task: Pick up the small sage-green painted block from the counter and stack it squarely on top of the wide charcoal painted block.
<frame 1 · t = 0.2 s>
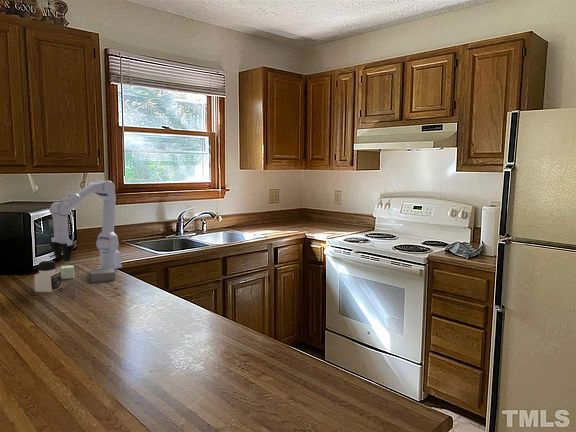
hand: (62, 259, 196), 10 cm above the worktop, tool pointing down, fingers open, 7 cm apart
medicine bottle: (48, 290, 183), on the worktop
charcoal plinth: (103, 279, 202), on the worktop
sage block: (67, 277, 203), on the worktop
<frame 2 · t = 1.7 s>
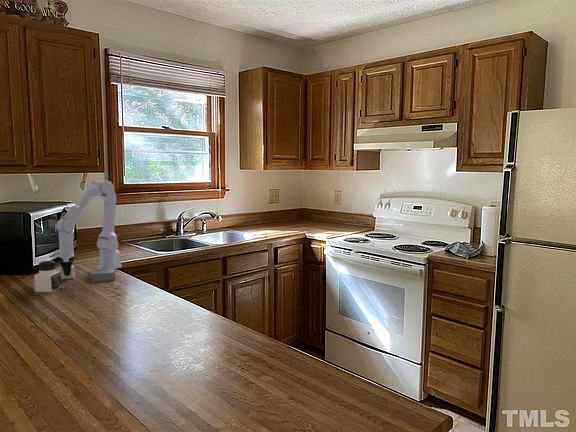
hand: (67, 274, 203), 1 cm above the worktop, tool pointing down, fingers closed on sage block, 5 cm apart
sage block: (67, 277, 203), on the worktop, touching gripper
everything else where it was.
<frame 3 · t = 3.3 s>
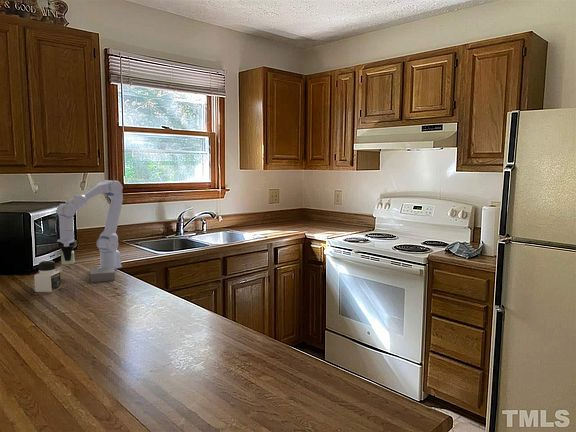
hand: (68, 259, 202), 8 cm above the worktop, tool pointing down, fingers closed on sage block, 5 cm apart
sage block: (68, 262, 202), point 7 cm above the worktop, touching gripper
everything else where it was.
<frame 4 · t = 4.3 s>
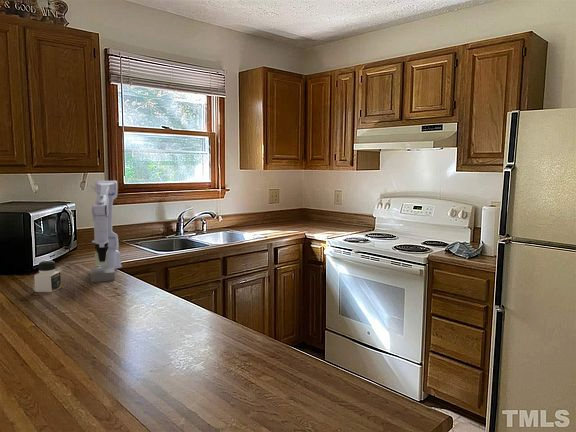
hand: (102, 260, 201), 8 cm above the worktop, tool pointing down, fingers closed on sage block, 5 cm apart
sage block: (101, 263, 201), point 7 cm above the worktop, touching gripper
everything else where it was.
when the fingers open (6 cm above the worktop, at t = 5.1 s): sage block drops 1 cm, resting on charcoal plinth.
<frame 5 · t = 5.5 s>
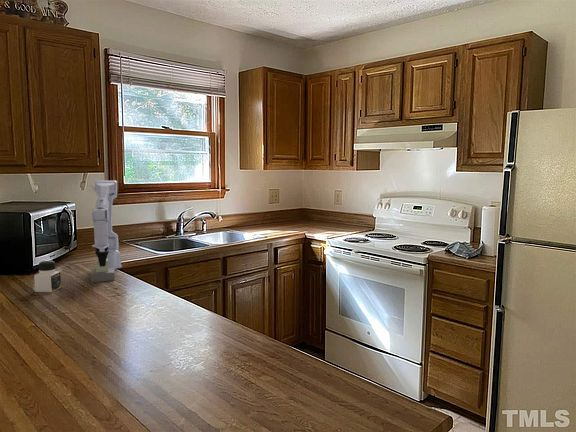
hand: (102, 264, 201), 6 cm above the worktop, tool pointing down, fingers open, 7 cm apart
charcoal plinth: (103, 279, 202), on the worktop, touching sage block
sage block: (102, 270, 202), point 4 cm above the worktop, touching charcoal plinth
everything else where it was.
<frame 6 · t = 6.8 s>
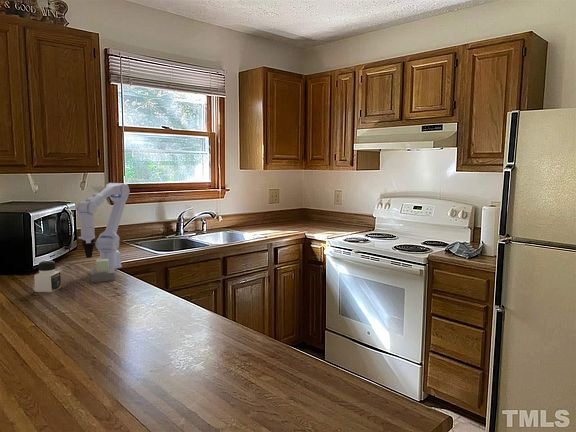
hand: (88, 256, 205), 9 cm above the worktop, tool pointing down, fingers open, 7 cm apart
nothing on the worktop moved.
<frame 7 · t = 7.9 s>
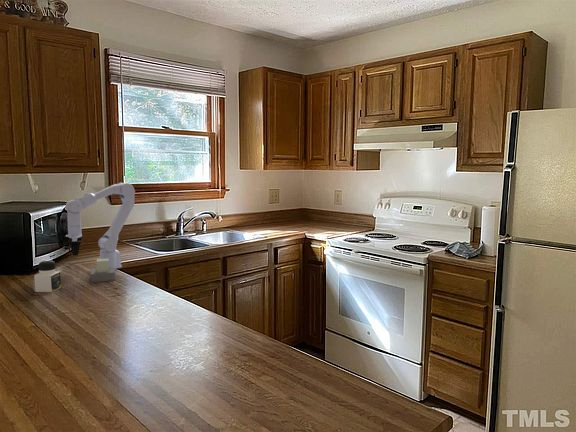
hand: (75, 253, 209), 9 cm above the worktop, tool pointing down, fingers open, 7 cm apart
charcoal plinth: (103, 279, 202), on the worktop
sage block: (103, 270, 201), point 4 cm above the worktop
everything else where it was.
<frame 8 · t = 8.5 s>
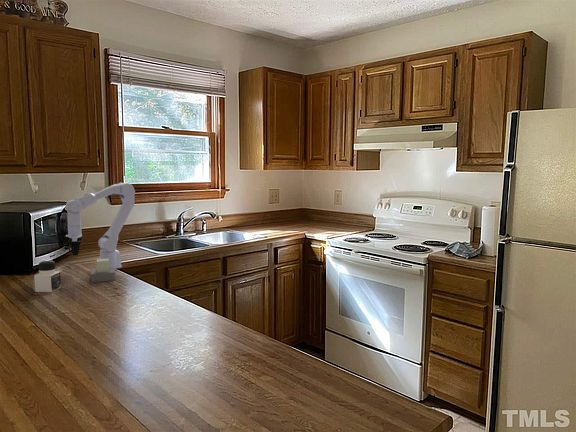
hand: (75, 253, 209), 9 cm above the worktop, tool pointing down, fingers open, 7 cm apart
charcoal plinth: (103, 279, 202), on the worktop, touching sage block
sage block: (103, 270, 201), point 4 cm above the worktop, touching charcoal plinth
everything else where it was.
at the end: sage block 0.2 cm off-centre on the charcoal plinth, point 4.0 cm above the charcoal plinth's base; sage block tilted 0°; sage block touching charcoal plinth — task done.
